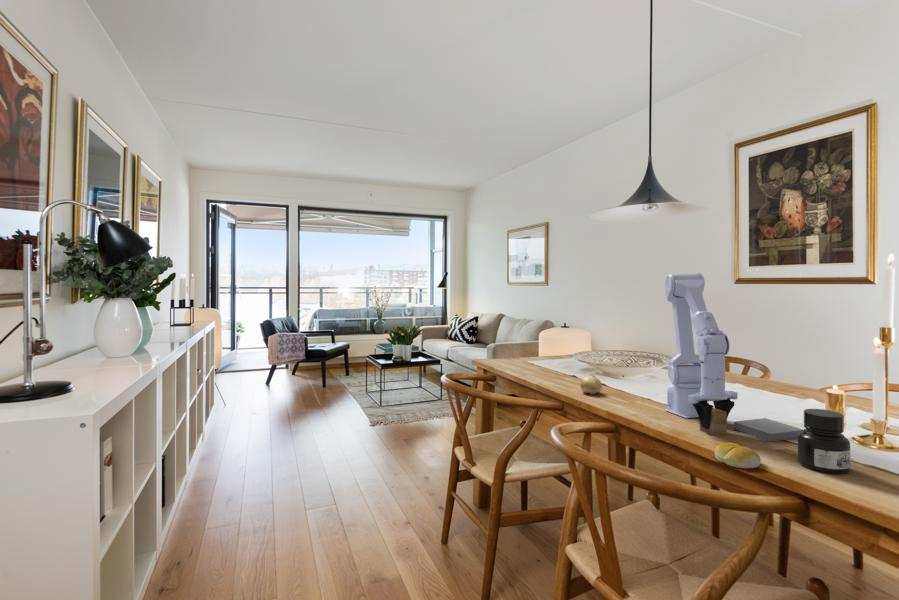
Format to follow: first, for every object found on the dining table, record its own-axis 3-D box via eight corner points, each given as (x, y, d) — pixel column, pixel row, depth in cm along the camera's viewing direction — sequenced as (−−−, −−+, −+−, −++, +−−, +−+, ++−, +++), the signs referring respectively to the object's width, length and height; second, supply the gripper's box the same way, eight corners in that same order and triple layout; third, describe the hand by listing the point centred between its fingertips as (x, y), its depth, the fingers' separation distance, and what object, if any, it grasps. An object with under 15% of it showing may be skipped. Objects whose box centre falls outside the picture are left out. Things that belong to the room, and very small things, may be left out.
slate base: (733, 428, 126) (733, 421, 126) (765, 425, 129) (765, 418, 129) (770, 441, 115) (770, 434, 115) (804, 437, 118) (804, 429, 118)
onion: (605, 395, 166) (604, 376, 166) (583, 396, 167) (583, 377, 166) (598, 390, 174) (598, 372, 174) (577, 391, 175) (577, 372, 174)
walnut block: (699, 430, 125) (699, 409, 125) (713, 428, 126) (713, 407, 126) (712, 435, 121) (712, 413, 121) (726, 433, 122) (726, 411, 122)
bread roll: (733, 453, 109) (733, 436, 109) (767, 467, 100) (767, 449, 100) (705, 456, 107) (705, 439, 107) (737, 471, 98) (737, 453, 98)
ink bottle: (824, 477, 94) (824, 420, 94) (786, 461, 103) (786, 409, 103) (862, 472, 96) (863, 417, 96) (822, 457, 105) (822, 406, 104)
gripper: (702, 382, 118) (702, 434, 118) (747, 378, 121) (747, 428, 122) (682, 377, 124) (682, 426, 125) (725, 373, 128) (725, 421, 128)
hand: (713, 426), depth 124 cm, fingers closed on walnut block, 4 cm apart
